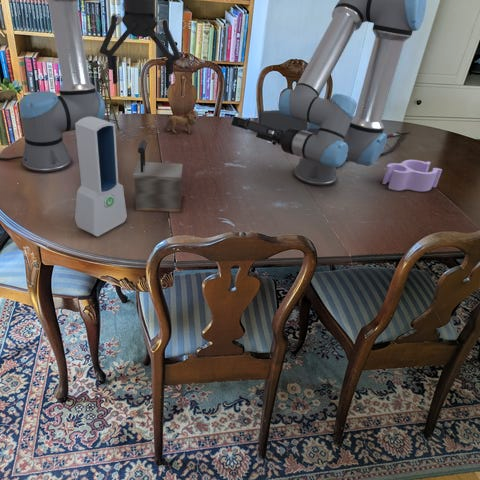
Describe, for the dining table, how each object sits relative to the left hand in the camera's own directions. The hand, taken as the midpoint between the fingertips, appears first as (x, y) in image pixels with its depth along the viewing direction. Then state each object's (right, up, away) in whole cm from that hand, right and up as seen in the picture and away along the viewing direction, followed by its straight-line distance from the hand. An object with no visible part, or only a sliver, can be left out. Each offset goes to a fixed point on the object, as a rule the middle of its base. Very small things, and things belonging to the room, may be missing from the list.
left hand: (141, 84), depth 124 cm
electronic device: (-12, -37, +6) cm, 40 cm away
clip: (+89, -21, +49) cm, 103 cm away
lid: (+2, -21, +14) cm, 26 cm away
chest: (+1, -30, +20) cm, 36 cm away
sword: (+95, +6, +91) cm, 131 cm away
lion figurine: (+2, +4, +73) cm, 73 cm away
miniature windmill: (-28, +3, +66) cm, 71 cm away
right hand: (+28, -5, +27) cm, 39 cm away
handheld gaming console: (+45, +6, +83) cm, 94 cm away
